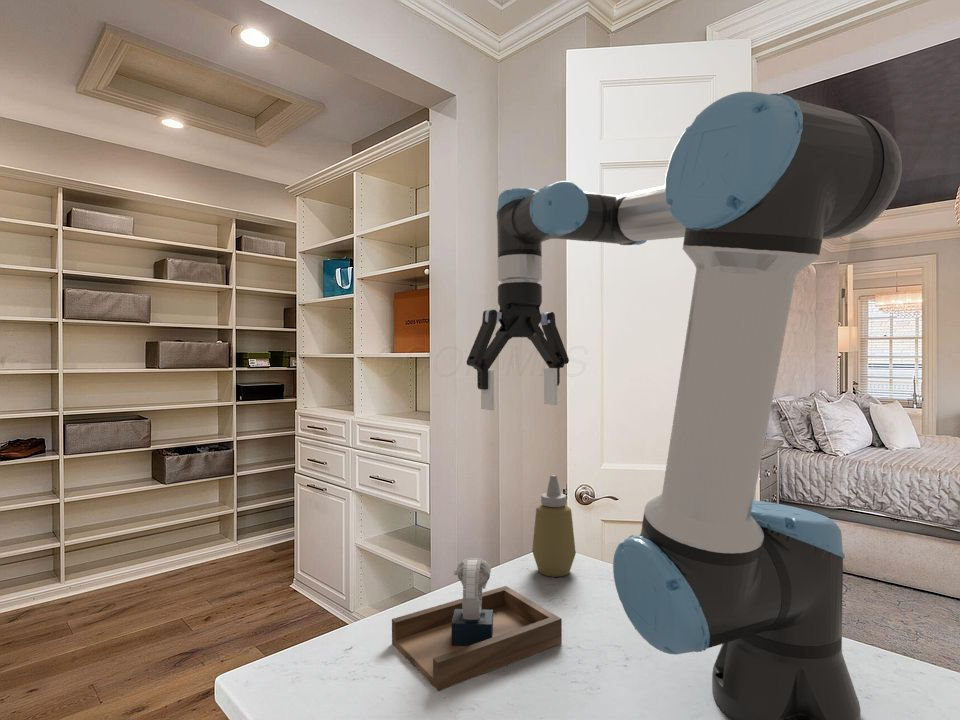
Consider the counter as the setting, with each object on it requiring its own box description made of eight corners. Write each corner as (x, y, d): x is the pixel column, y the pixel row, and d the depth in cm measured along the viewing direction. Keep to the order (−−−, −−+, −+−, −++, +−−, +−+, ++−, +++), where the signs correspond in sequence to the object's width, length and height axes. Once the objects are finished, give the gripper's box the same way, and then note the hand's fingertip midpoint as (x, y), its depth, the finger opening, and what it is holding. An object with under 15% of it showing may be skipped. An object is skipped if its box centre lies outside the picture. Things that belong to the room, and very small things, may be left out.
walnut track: (561, 643, 80) (561, 618, 80) (437, 691, 69) (437, 662, 69) (506, 607, 91) (505, 585, 91) (391, 643, 80) (391, 619, 80)
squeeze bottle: (582, 568, 107) (582, 474, 106) (565, 583, 100) (564, 482, 99) (543, 560, 111) (543, 469, 111) (524, 574, 104) (524, 477, 104)
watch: (493, 624, 83) (493, 550, 83) (491, 653, 75) (490, 572, 75) (455, 623, 84) (455, 549, 83) (449, 652, 75) (448, 571, 75)
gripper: (560, 288, 106) (560, 401, 107) (445, 280, 93) (446, 409, 93) (588, 285, 100) (588, 404, 100) (469, 275, 86) (470, 413, 87)
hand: (520, 407), depth 97 cm, fingers open, 13 cm apart
